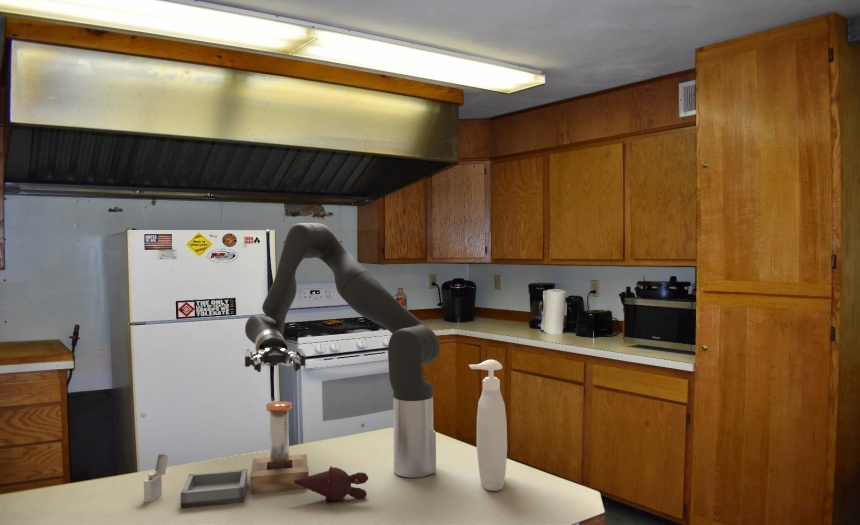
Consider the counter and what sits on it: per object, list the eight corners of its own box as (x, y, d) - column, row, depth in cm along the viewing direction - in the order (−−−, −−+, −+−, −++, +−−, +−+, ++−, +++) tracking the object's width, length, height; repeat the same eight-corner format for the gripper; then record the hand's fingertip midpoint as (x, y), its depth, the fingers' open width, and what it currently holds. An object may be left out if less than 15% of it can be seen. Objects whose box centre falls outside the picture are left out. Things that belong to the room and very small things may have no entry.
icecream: (290, 477, 119) (366, 482, 119) (298, 456, 126) (370, 461, 126) (289, 507, 121) (364, 512, 121) (297, 485, 128) (368, 490, 128)
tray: (247, 482, 133) (247, 469, 133) (244, 502, 123) (244, 487, 123) (189, 488, 131) (189, 474, 131) (180, 508, 120) (180, 493, 120)
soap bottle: (468, 472, 139) (467, 354, 139) (503, 472, 139) (502, 354, 139) (472, 497, 124) (470, 365, 124) (511, 496, 124) (510, 365, 124)
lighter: (151, 502, 123) (151, 463, 123) (143, 502, 123) (143, 462, 123) (169, 489, 130) (168, 451, 130) (161, 489, 130) (160, 451, 130)
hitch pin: (292, 475, 138) (291, 400, 138) (293, 483, 133) (292, 406, 133) (267, 477, 137) (266, 402, 137) (266, 486, 131) (265, 408, 131)
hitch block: (306, 469, 142) (306, 454, 142) (308, 487, 130) (308, 471, 130) (253, 473, 139) (252, 458, 139) (250, 493, 127) (250, 476, 127)
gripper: (243, 332, 153) (247, 352, 138) (299, 332, 158) (310, 351, 143) (241, 361, 154) (245, 383, 139) (297, 360, 159) (307, 382, 144)
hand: (278, 367), depth 141 cm, fingers open, 8 cm apart
